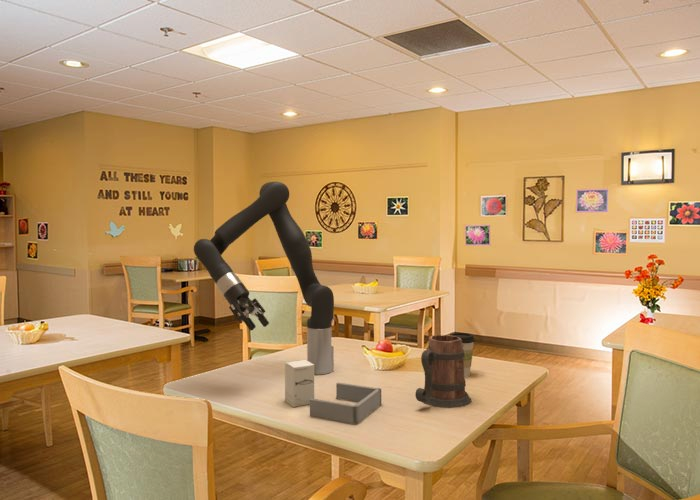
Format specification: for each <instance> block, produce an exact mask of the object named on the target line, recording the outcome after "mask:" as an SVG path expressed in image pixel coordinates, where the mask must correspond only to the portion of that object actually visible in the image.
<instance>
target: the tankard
mask: <svg viewBox="0 0 700 500" xmlns="http://www.w3.org/2000/svg"><path fill="white" fill-rule="evenodd" d="M429 336H430V335H429ZM428 340H429V341H428V346H427V348H426V349H425V350H424V351H422V353H421V356H420V359H421V366H422V369H423V372H424V387H423V388H422V387H419V388H416V391H415V399H416V400H417V401H418V402H419V403H420V402H421V403H423V404H425V405H426V406H430V407H435V408H440V409H458V408H463V407H466V406H469V405H470V404H472V398H471V397H470V395H469V394H468V392H466V378H465V377H464V350H463V345H462V339H461V338H459V337H457V336H451V335H450V334H449V335H448V334H445V335H444V334H443V335H442V334H434V335H431V336H430V337H429V339H428Z"/></svg>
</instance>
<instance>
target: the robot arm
mask: <svg viewBox="0 0 700 500" xmlns="http://www.w3.org/2000/svg"><path fill="white" fill-rule="evenodd" d="M258 193H259V197H257V198H256V200H254V201H253V202H252V203H251V204H250V205H248V206H247V207H245V208H243V209H242V210H241V211H239V212H237V213H236V214H234V215H233V216H231V217H230V218H228V219H227V220H226V221H225V222H224V223H222V224H221V225H220V226H219V227H218V228H216V230H215V231H214V235H213V237H212V238H211V239H208V238H201V239H198V240H197V241H196V242H195V243H194V245H193V253H194V254H195V255H194V256H196V259H198V261H199V262H200V263H201V264H202V265H203V267H204V268H205V269H206V271H207V272H208V274H209V276H210V277H211V279H212V281H213V282H214V283H215V285H216V286H217V288H218V290H219V292H220V293H221V294H222V296H223V297H224V298H225V300H226V301H227V302H228V304H229V307H228V308H229V310H230V311H231V313H232V315H234V318H235V319H236V320H237V321H238V322H240V321H241V322H242V323H244V324H245V326H246V327H247V328H248V329H249V331H250V332H251V331H254V329H256V327H257V326H256V324H255V323H254V322H253V320H252V318H251V317H250V316H254V317H255V318H257V320H258V321H259V322H260V324H261V325H262V327H263V328H264V327H267V326H268V325H270V322H269V320H268V319H267V318H266V316H265V315H264V314H265V313H266V310H265V309H264V307H263V306H262V305H261V303H260V302H259V301H258V299H257V298H253V299H250V298H249V295H250V291H249V290H248V288H247V287H246V285H245V284H244V283H243V281H242V280H241V279H240V277H239V276H238V275H237V274H236V273H235V272H234V271H233V270H232V267H231V266H230V265H229V264H228V263H227V261H226V260H225V259H224V258H223V256H222V254H224V252H225V251H226V250H227V249H228V248H229V246H230V245H231V244H233V243H234V242H235V241H236V240H237V239H239V238H240V237H241V236H242V235H243V234H244V233H246V232H248V230H249V229H251V228H252V227H253V226H254V225H255V224H256V223H258V222H259V221H260V220H261V219H263V218H265V217H266V216H269V218H270V219H271V222H272V223H273V225H274V229H275V231H276V235H277V237H278V239H279V241H280V244H281V247H282V249H283V251H284V253H285V256H286V258H287V260H288V262H289V264H290V266H291V268H292V271H293V272H294V274H295V277H296V280H297V281H298V285H299V288H300V292H301V294H302V297H303V301H304V302H305V303H306V305H307V306H308V307H310V308H311V309H310V310H311V312H310V317H309V318H308V319H307V321H306V339H307V340H306V348H307V349H306V351H307V352H306V353H307V354H306V357H307V358H306V360H307V361H309V362H310V363H312V364H314V375H317V376H318V375H328V374H330V373H331V372H334V371H335V370H334V369H335V368H334V366H335V363H334V361H335V359H334V356H335V355H334V353H335V352H334V351H335V350H334V348H335V347H334V346H333V345H332V322H333V319H334V313H335V312H334V311H335V310H334V309H335V305H334V304H335V298H334V297H335V296H334V292H333V290H332V289H331V288H330V287H328V286H327V285H323V284H321V283H320V281H319V279H318V277H317V276H316V273H315V270H314V267H313V256H312V255H313V254H312V249H311V246H310V244H309V242H308V239H307V238H306V236H305V234H304V232H303V230H302V228H301V227H300V226H299V224H298V223H297V222H296V220H295V219H294V218H293V216H292V215H291V213H290V210H289V208H288V204H287V202H288V201H289V198H290V190H289V188H288V186H287V185H286V184H285V183H283V182H281V181H270V182H269V181H268V182H265V183H264V184H262V186H261V187H260V190H259V192H258Z"/></svg>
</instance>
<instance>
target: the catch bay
mask: <svg viewBox="0 0 700 500" xmlns="http://www.w3.org/2000/svg"><path fill="white" fill-rule="evenodd" d="M335 389H336V399H337V400H341V401H349V402H355V403H356V404H349V403H342V402H336V401H331V400H325V399H324V400H323V399H318V398H314V399H313V398H312V399H310V404H309V416H310V417H312V418H318V419H322V420H323V419H324V420H329V421H334V422H340V423H346V424H350V425H356V426H357V425H358V424H360V423H361V422H362V421H363V420H364V419H365V418H367V417H368V416H369V415H370V414H372V413H373V412H374V411H375V410H376V409H379V407H380V406H382V388H380V387H379V388H378V387H373V386H365V385H359V384H358V385H357V384H351V383H345V382H339V381H338V382H336V388H335Z"/></svg>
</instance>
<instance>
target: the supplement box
mask: <svg viewBox="0 0 700 500" xmlns="http://www.w3.org/2000/svg"><path fill="white" fill-rule="evenodd" d="M312 398H313V399H315V374H314V364H312V363H310V362H309V361H307V359H302V360H295V361H294V360H293V361H287V362H286V361H285V363H284V400H285V402H286V403H287V404H289V405H290V406H291V407H292V408H296V407H300V406H301V407H302V406H307V405H310V399H312Z"/></svg>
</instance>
